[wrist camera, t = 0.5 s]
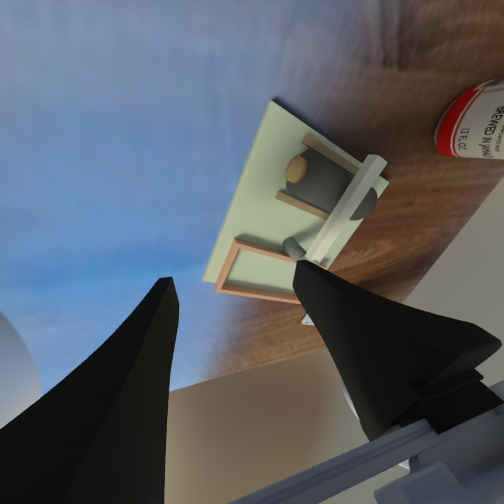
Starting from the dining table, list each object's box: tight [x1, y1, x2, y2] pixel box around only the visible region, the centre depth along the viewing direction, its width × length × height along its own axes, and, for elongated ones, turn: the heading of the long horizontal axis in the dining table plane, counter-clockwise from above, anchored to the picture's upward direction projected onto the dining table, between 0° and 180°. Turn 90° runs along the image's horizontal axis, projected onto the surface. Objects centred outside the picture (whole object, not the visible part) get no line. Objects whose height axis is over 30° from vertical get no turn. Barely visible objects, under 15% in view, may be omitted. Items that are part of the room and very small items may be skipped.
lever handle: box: [299, 154, 388, 266], centre depth 15 cm, size 2×11×1 cm, turn 155°
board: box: [202, 100, 389, 304], centre depth 19 cm, size 16×18×5 cm
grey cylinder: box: [285, 149, 378, 221], centre depth 17 cm, size 10×4×4 cm, turn 65°
